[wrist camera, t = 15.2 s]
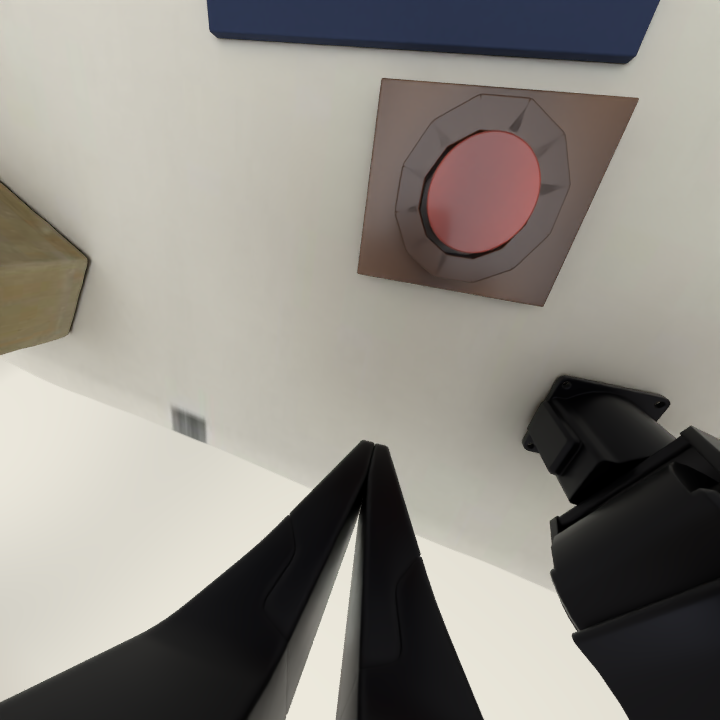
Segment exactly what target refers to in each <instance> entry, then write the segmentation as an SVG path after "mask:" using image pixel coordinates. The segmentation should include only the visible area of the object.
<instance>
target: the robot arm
mask: <svg viewBox="0 0 720 720" xmlns="http://www.w3.org/2000/svg"><path fill="white" fill-rule="evenodd" d="M564 382H568V383H567V384H566V385H562V384H563V383H564ZM657 402H660V403H658V404H656V403H657ZM655 404H656V405H655ZM669 406H670V401H669V400H668V399H667V398H665V397H664V396H662V395H658V394H653V393H649V392H644V391H639V390H634V389H630V388H625V387H620V386H615V385H610V384H606V383H601V382H596V381H591V380H587V379H582V378H577V377H572V376H567V375H564V376H560V377H559V378H558V379H557V380H556V381H555V383H554V385H553V387H552V388H551V390H550V392H549V394H548V396H547V397H546V399H545V401H543V402H542V403H541V404H540V406H539V408H538V410H537V412H536V414H535V415H534V417H533V419H532V421H531V423H530V424H529V426H528V428H527V429H528V432H527V433H526V435H525V437H524V439H523V440H522V444H523V446H524V448H525V449H526V450H528V451H532V452H536V453H540V455H541V457H542V459H543V461H544V463H545V465H546V467H547V469H548V471H549V472H550V473H551V474H554V475H556V477H557V479H558V481H559V483H560V484H561V486H562V488H563V490H564V492H565V494H566V496H567V498H568V500H569V501H570V503H572V504H575V505H577V506H575V507H574V508H572V509H571V510H569V511H568V512H566V513H565V514H563V515H562V516H560V517H559V516H556V517H555V518H553V519H552V520H550V529H551V540H552V546H551V550H552V557H553V563H554V569H552V570H551V572H550V573H551V578H552V582H553V584H554V586H555V589H556V591H557V594H558V596H559V598H560V601H561V603H562V605H563V607H564V609H565V612H566V613H567V615H568V617H569V619H570V621H571V622H572V624H573V625H574V627H575V629H576V630H577V632H575V633H573V634H572V638H573V640H574V642H575V644H576V645H577V646H578V648H579V649H580V650H581V651H582V653H583V654H584V655H585V656H586V657H587V659H588V660H589V661H590V662H591V663H592V665H593V666H594V667H595V668H596V670H597V671H598V672H599V673H600V675H601V676H602V678H603V679H604V681H605V682H606V684H607V685H608V687H609V688H610V690H611V691H612V692H613V694H614V696H615V697H616V698H617V700H618V702H619V703H620V704H621V706H622V708H623V710H624V711H625V713H626V715H627V716H628V718H629V720H720V440H719V439H717V438H715V437H713V436H711V435H709V434H707V433H705V432H703V431H701V430H699V429H697V428H695V427H693V426H690V427H688V428H687V429H685V430H684V431H682V432H681V433H680V434H681V436H680V437H678V438H677V439H676V438H675V437H674V436H672V435H671V434H670V433H669V432H668V431H667V430H665V429H664V428H663V427H662V426H661V425H659V424H658V423H657V420H658V419H659V418H660V417H661V416H662V414H663V413H664V412H665V411H666V410H667V408H668V407H669ZM530 443H532V444H531V445H528V444H530ZM360 507H361V508H360ZM359 511H360V513H359ZM358 515H359V520H358V527H357V537H356V545H355V554H354V563H353V571H352V580H351V590H350V598H349V607H348V616H347V624H346V634H345V642H344V652H343V660H342V669H341V678H340V687H339V695H338V704H337V713H336V720H484V719H483V717H482V715H481V712H480V709H479V707H478V704H477V702H476V700H475V698H474V696H473V692H472V690H471V687H470V685H469V683H468V680H467V678H466V675H465V673H464V671H463V668H462V665H461V663H460V661H459V658H458V656H457V653H456V651H455V648H454V646H453V644H452V641H451V639H450V636H449V634H448V631H447V629H446V626H445V624H444V621H443V618H442V616H441V613H440V610H439V608H438V606H437V603H436V600H435V597H434V594H433V591H432V588H431V585H430V582H429V579H428V576H427V573H426V570H425V566H424V564H423V560H422V557H420V550H419V548H418V544H417V541H416V537H415V534H414V531H413V527H412V524H411V521H410V518H409V514H408V511H407V508H406V504H405V501H404V498H403V495H402V491H401V488H400V485H399V481H398V478H397V475H396V471H395V468H394V465H393V462H392V458H391V455H390V452H389V449H388V447H387V446H385V445H381V444H375V446H374V443H373V442H369V441H366V440H362V441H361V442H360V443H359V444H358V445H357V446H356V447H355V448H354V449H353V450H352V451H351V452H350V453H349V454H348V455H347V456H346V457H345V458H344V459H343V460H342V461H341V462H340V463H339V464H338V465H337V466H336V467H335V468H334V469H333V470H332V471H331V472H330V473H329V474H328V475H327V476H326V477H325V478H324V479H323V480H322V481H321V482H320V483H319V484H318V485H317V486H316V487H315V488H314V489H313V490H312V492H310V493H309V494H308V495H307V497H305V498H304V499H303V500H302V501H301V502H300V503H299V504H298V506H297V507H296V508H295V509H294V510H293V511H292V512H291V513H290V516H289V515H288V516H287V517H285V518H284V520H282V522H281V523H280V524H279V525H278V526H277V527H276V528H274V529H273V530H272V532H270V533H269V534H268V535H267V536H266V537H265V538H264V539H263V540H262V541H261V542H260V543H259V544H257V545H256V546H255V547H254V548H253V549H252V550H250V551H249V552H248V553H247V554H246V555H245V556H243V557H242V558H241V559H240V560H239V561H237V562H236V563H235V564H234V565H233V566H231V567H230V568H229V569H228V570H226V571H225V572H224V573H223V574H222V575H220V576H219V577H218V578H217V579H216V580H214V581H213V582H212V583H211V584H209V585H208V586H207V587H206V588H205V589H203V590H202V591H201V592H200V593H198V594H197V595H196V596H195V597H194V598H192V599H191V600H190V601H189V602H187V603H186V604H185V605H184V606H182V607H181V608H180V609H179V610H177V611H176V612H175V613H173V614H172V615H171V616H169V617H168V618H166V619H165V620H163V621H162V622H160V623H159V624H157V625H156V626H154V627H152V628H150V629H149V630H147V631H145V632H143V633H141V634H139V635H138V636H135V637H133V638H132V639H129V640H127V641H125V642H123V643H121V644H119V645H117V646H115V647H113V648H111V649H109V650H107V651H105V652H103V653H101V654H99V655H97V656H94V657H92V658H90V659H88V660H86V661H85V662H82V663H80V664H78V665H76V666H74V667H72V668H70V669H68V670H66V671H64V672H62V673H60V674H58V675H56V676H53V677H51V678H49V679H47V680H45V681H43V682H41V683H39V684H37V685H35V686H33V687H31V688H29V689H27V690H25V691H23V692H21V693H19V694H17V695H15V696H13V697H11V698H8V699H6V700H4V701H2V702H0V720H285V719H286V714H287V713H288V711H289V708H290V705H291V702H292V699H293V697H294V694H295V691H296V688H297V685H298V683H299V680H300V677H301V674H302V671H303V669H304V666H305V663H306V660H307V658H308V655H309V652H310V649H311V646H312V644H313V640H314V638H315V635H316V632H317V629H318V627H319V624H320V621H321V618H322V616H323V613H324V610H325V607H326V605H327V602H328V599H329V596H330V593H331V590H332V588H333V585H334V582H335V580H336V577H337V574H338V571H339V568H340V566H341V563H342V560H343V557H344V554H345V552H346V549H347V546H348V543H349V540H350V538H351V535H352V532H353V529H354V527H355V524H356V521H357V518H358Z"/></svg>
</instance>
